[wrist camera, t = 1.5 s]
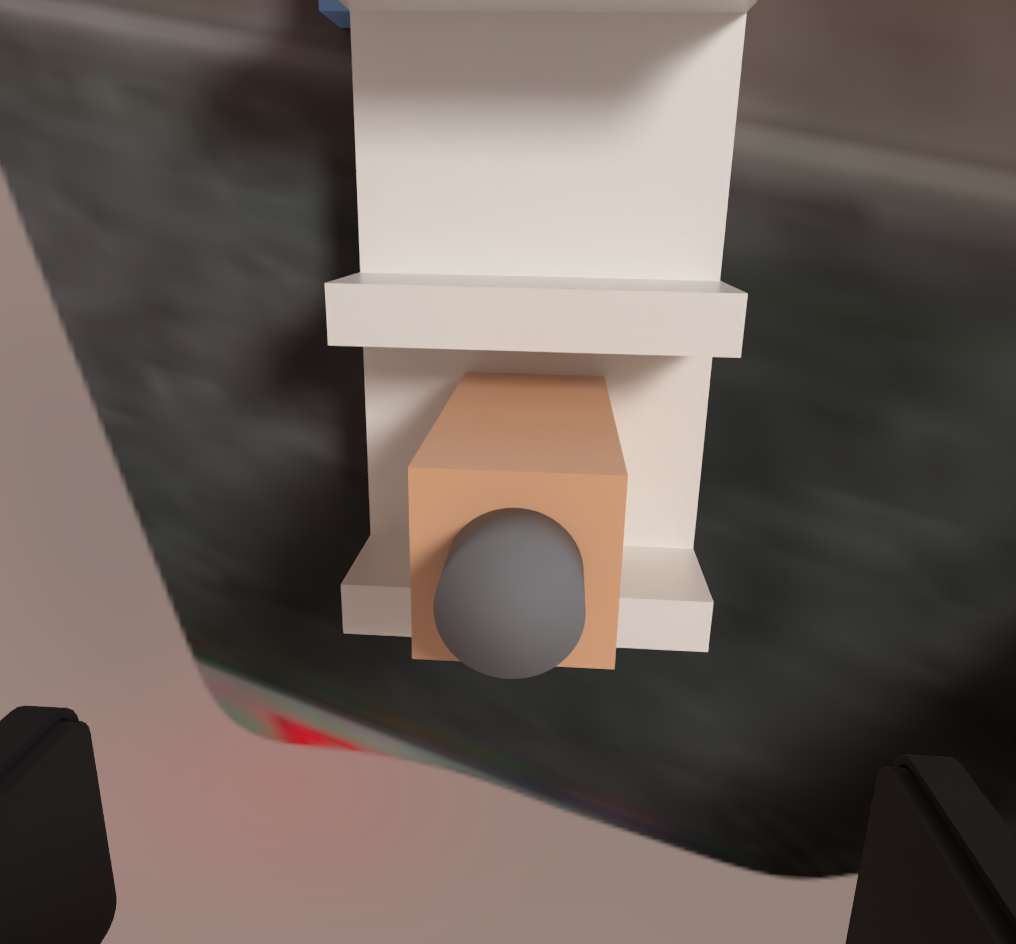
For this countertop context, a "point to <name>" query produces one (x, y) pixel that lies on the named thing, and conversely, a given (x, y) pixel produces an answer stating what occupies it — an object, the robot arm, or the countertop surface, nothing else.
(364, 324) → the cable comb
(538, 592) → the cord plug
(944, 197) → the countertop surface
